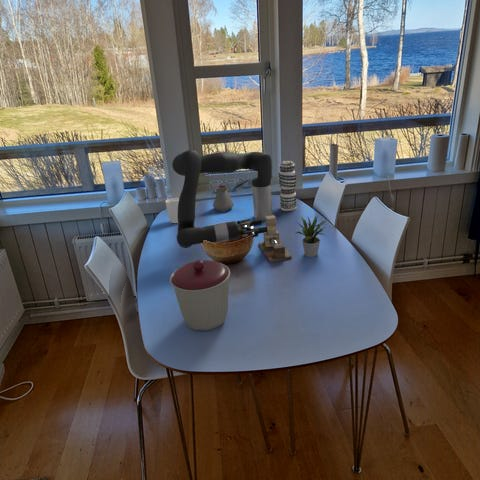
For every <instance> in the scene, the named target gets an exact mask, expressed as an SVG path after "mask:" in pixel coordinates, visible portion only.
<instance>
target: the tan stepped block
mask: <svg viewBox="0 0 480 480" xmlns="http://www.w3.org/2000/svg"><path fill="white" fill-rule="evenodd" d="M265 219H266V220H265V227H267V232H265V233H263V240H264V239H265V246H266V247H272V246H274V245H273V244H272V242H271V241H270V238H272V237H274V238H275V240H276V241H277V242H278V243H279V241H280V232H279V231H278V230H277V219H276V216H275V215H274V214H272V216H265ZM279 245H280V244H279Z"/></svg>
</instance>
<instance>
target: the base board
mask: <svg viewBox="0 0 480 480" xmlns="http://www.w3.org/2000/svg"><path fill="white" fill-rule="evenodd" d="M279 244H280V245H277V246H272V247H266V246H265V239H264V238H263V241H259V242H258V246H259V248H260V249H261V251H262V252H263V254H264V256H265V257H266V259H267V261H268V262H269V263H274V262H279V261H280V262H281V261H285V260H290V259H292V258H293V257H292V255H291V253H289V251H288V250H287V248H286V247H285V245H284V244H282V242H281V241H280V240H279Z"/></svg>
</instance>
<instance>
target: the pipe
mask: <svg viewBox="0 0 480 480" xmlns="http://www.w3.org/2000/svg"><path fill="white" fill-rule="evenodd" d="M270 241H271V242H272V244H273V245H274V246H277V245H279V243H278V242H277V241H276V240H275V238H274V237H272V238H270Z"/></svg>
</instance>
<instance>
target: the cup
mask: <svg viewBox="0 0 480 480" xmlns="http://www.w3.org/2000/svg"><path fill="white" fill-rule="evenodd" d="M179 198H180V196H178V197H176V196H175V197H170V198H168V199H166V200H165V208H166V211H167V214H168V217H169V220H170V224H172V223H178V202H179Z"/></svg>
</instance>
